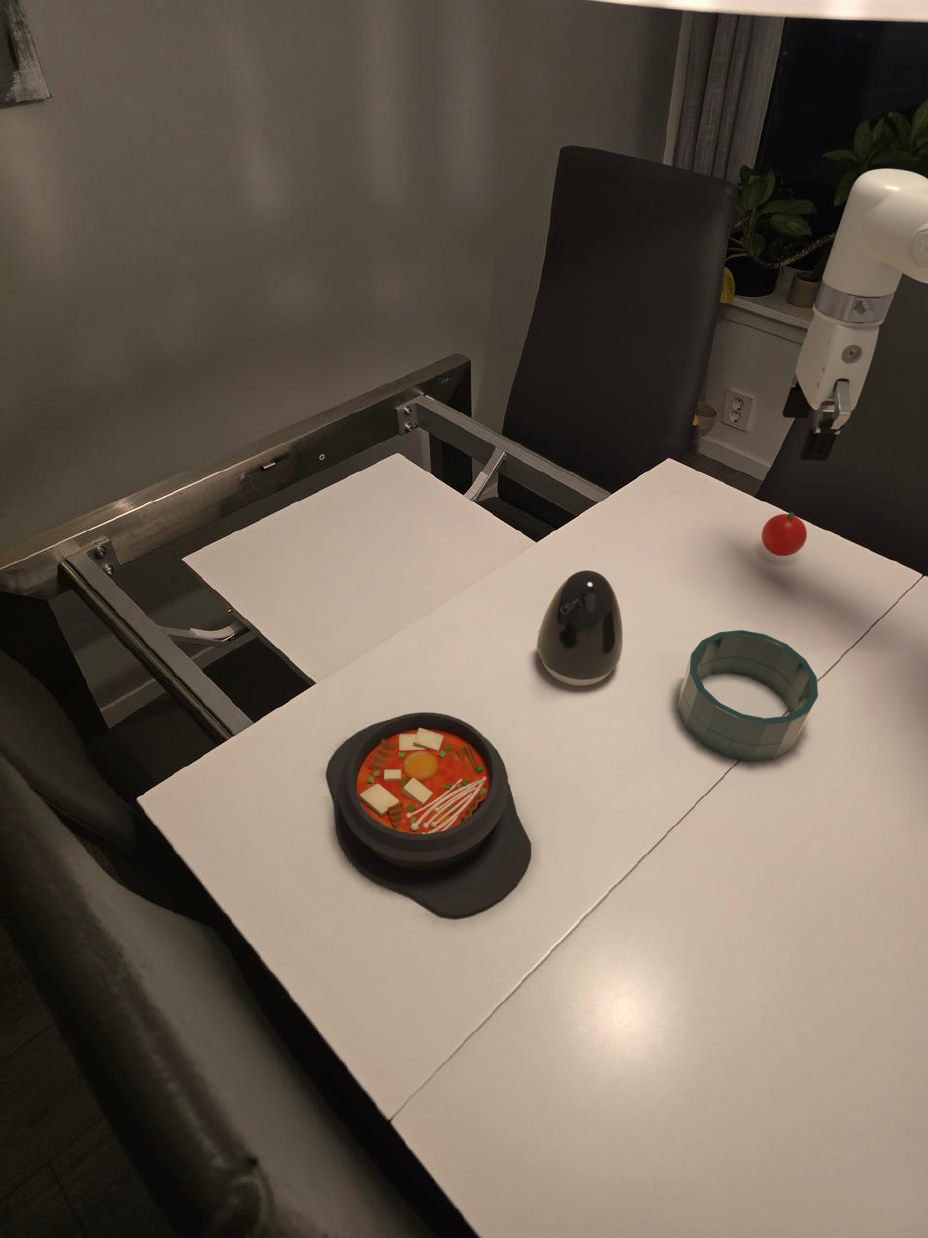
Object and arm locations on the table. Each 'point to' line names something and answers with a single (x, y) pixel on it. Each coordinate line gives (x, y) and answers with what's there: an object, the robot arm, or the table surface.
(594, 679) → the black egg shape
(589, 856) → the table surface
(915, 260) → the robot arm
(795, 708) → the green cylindrical ring
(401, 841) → the casserole
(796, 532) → the tomato
